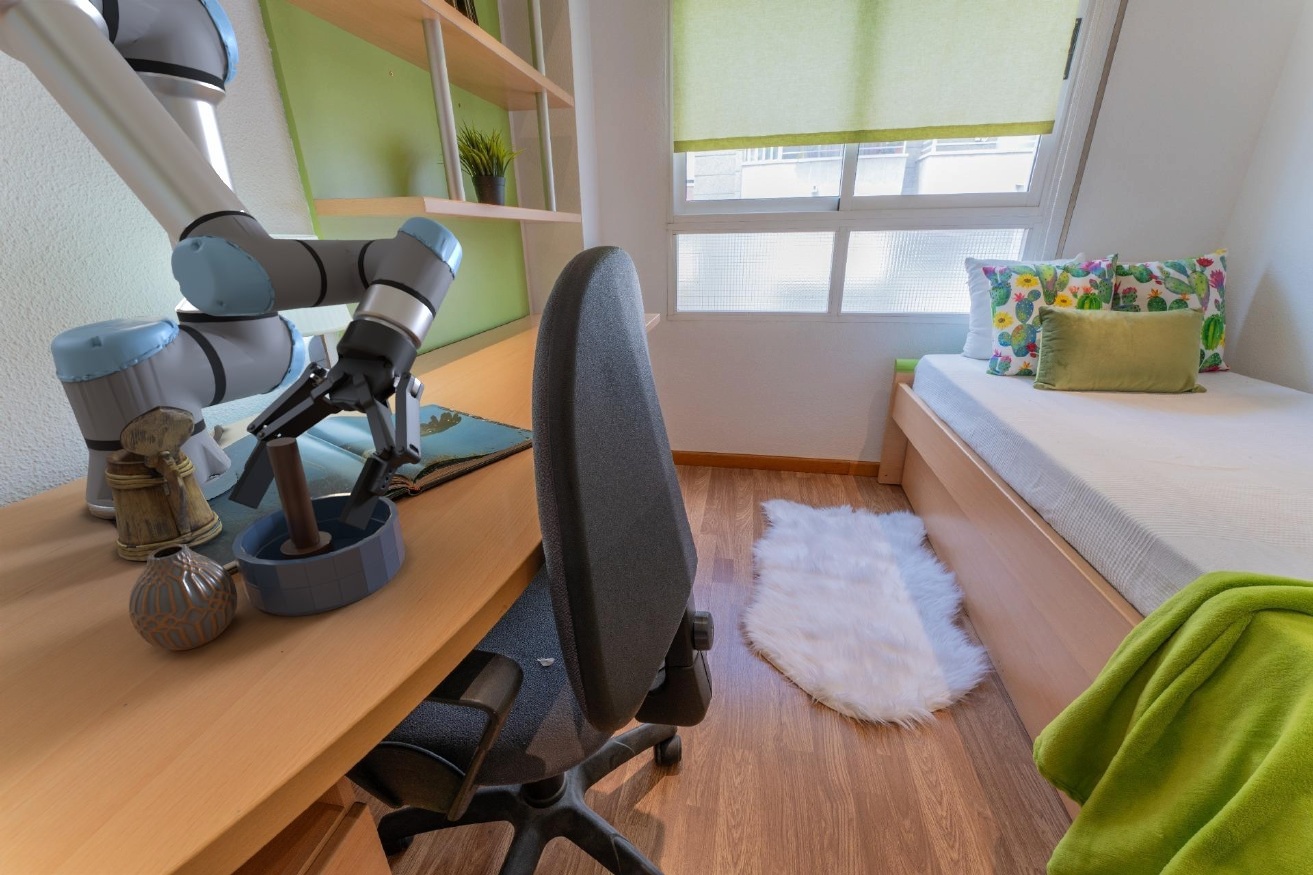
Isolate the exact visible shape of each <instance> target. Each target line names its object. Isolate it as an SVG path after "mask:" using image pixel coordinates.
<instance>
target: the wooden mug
mask: <svg viewBox="0 0 1313 875" xmlns="http://www.w3.org/2000/svg"><path fill="white" fill-rule="evenodd" d="M193 431H194V417H193V414H192V413H191V412H189V411H187V410H184V409H180V408H176V407H171V406H157V407H155V408H153V409H151V410H149V411H147V412H145V413H143V414H142V415H140V416H138V417H136V418H135V419H133V420H132V421H131V422H129V423H128V424H127V425H126V426H125V427H124V429H123V430H122V431H121V434H120V443H121V446H122V447H123V449H121V450H118V451H115V452H113V453H111V454H110V455H109V456H108V457H107V458H106V461H107V466H108V468H107V469H106V471H105V473H106V480H107V483H108V485H110V486H111V489H112V495H113V501H114V508H115V515H116V519H115V521H116V528H117V534H118V538H117V539H116V546H117V554H118V555H119V557H120V558H122V559H123V560H127V561H140V562H144V561H146V562H147V561H148V557H149V555H150V554H151V553H152V552H153V551H155V550H157V549H159V548H161V547H164V546H168V545H172V544H184V545H186V546H187V547H188V548H190V549H191V550H193V549H196V548H199V547H201V546H203V545H205V544H207V543H208V542H211V541H212V540H213V539H214V538H216V537H217V536H218V535H219V534H220V533H221V532H222V529H223V524H222V522H221V521H220V525H219V526H218V527H217V528H216V529H215V530H214V531H213V532H211V531H212V530H213V529H214V528H215V526H216V524H217V522H218V518H219V516H218V514H217V513H216V512H215V511H214V510H212V509H211V507H210V504H209V503H208V501H206V499H205V497H204V495H203V493H202V491H201V489H200V487H199V485H198V484H197V482H196V480H195V477H194V475H193V473H192V472H194V470H195V467H194V465H193V464H192V462H191V461H190V459H189V458H188V456H187V455H184V454H183V452H182V451H181V449H180V447H181V446H182V445H183V444H184V443H185V442H186V441H187V440H188V439H189V438H190V436H191V434H192V432H193ZM210 532H211V533H210ZM209 533H210V534H209ZM206 535H207V536H206Z"/></svg>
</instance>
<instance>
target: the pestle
mask: <svg viewBox="0 0 1313 875" xmlns="http://www.w3.org/2000/svg"><path fill="white" fill-rule="evenodd" d="M266 447H267V451H268V455H269V458H270V462H271V466H272V470H273V474H274V481H275V484H276V489H277V492H278V496H279V501H280V504H281V507H282V508H283V512H284V516H285V520H286V523H287V527H288V531H289V535H290V539H289V540H287V541H286V542H285V543H284V544H283V545H282V546H281V553H282V557H283V561H284V560H295V559H306V558H310V557H315V556H319V555H324V554H328V553H332V552H335V549H334V545H333V540H332V536H331V535H330V534H329V533H327V532H321V531H318V527H317V523H316V519H315V515H314V510H313V506H312V502H311V498H312V497H311V494H310V490H309V485H308V481H307V478H306V473H305V469H304V464H303V461H302V457H301V451H300V448H299V444H298V440H297V438H291V437H286V438H278V439H274V440H271V441H269V442H267V443H266Z"/></svg>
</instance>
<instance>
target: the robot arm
mask: <svg viewBox="0 0 1313 875" xmlns="http://www.w3.org/2000/svg"><path fill="white" fill-rule="evenodd" d="M225 11H226V10H224V8H223V7H222V5H221V4H220V2H219V1H218V0H0V51H1V52H3V53H4V54H6V55H7V56H9V57H10V58H12V59H14V60H16V61H18V62H19V63H23V64H24V65H25V66H26V67H27V68H28V70H29V71H30V72H31V73H32V74H33V75H34V76H35V78H36V80H38V82H39V83H40V84H41V85H42V86H43V87H44V89H45V90H46V91H47V92H48V93H49V95H50V96H51V97H52V98H53V99H54V100H55V102H56V103H57V104H58V105H59V106H60V107H61V109H62V110H63V111H64V112H65V113H66V114H67V116H68V117H69V118H70V119H71V121H72V122H73V123H74V124H75V126H76V127H77V128H78V129H79V130H80V131H81V133H82V134H83V135H84V136H85V138H87V140H88V141H89V142H90V143H91V144H92V146H93V147H94V148H95V149H96V150H97V152H98V153H99V154H100V155H101V156H102V157H103V159H104V160H105V161H106V162H107V163H108V164H109V166H110V167H111V168H112V169H113V170H114V172H115V173H116V174H117V175H118V177H119V178H120V179H122V181H123V183H124V184H125V186H127V187H128V188H129V189H130V190H131V192H132V193H133V194H134V195H135V197H136V198H137V200H139V202H140V203H141V204H142V205H143V206H144V208H146V210H147V211H148V212H149V213H150V214H151V216H152V217H153V218H154V219H155V220H156V222H157V223H158V224H159V225H160V226H161V228H163V230H164V231H165V232H166V233H167V237H168V240H169V243H170V247H171V251H172V252H171V258H170V265H171V266H170V267H171V272H172V275H173V278H174V280H176V281H177V282H178V284H179V291H180V293H181V295H182V296H183V299H182V300H181V301H180V302H179V303H178V304H177V305H176V307H175V312H176V316H177V319H178V324H177V323H176V322H175V320H174V319H173V318H171V317H170V316H167V315H166V316H165V315H140V316H132V317H128V318H125V317H124V318H122V317H121V318H115V319H108V320H101V321H98V322H97V321H96V322H92V323H88V324H84V325H80V326H76V327H73V328H70V329H67V330H65V331H63V332H61V333H59V334H58V335H57V336H55V337H54V338H53V340H51V343H50V352H51V355H52V358H53V362H54V366H55V375H56V378H57V379H58V380H59V381H60V383H61V386H62V388H63V390H64V393H65V396H66V397H67V400H68V403H69V406H70V407H71V410H72V412H73V415H74V418H75V420H76V423H77V425H78V427H79V430H80V432H81V433H80V434H81V436H82V437H83V439H84V442H85V445H86V448H87V450H88V451H87V452H88V466H87V474H86V475H87V476H86V477H87V478H86V487H85V502H86V504H87V506H88V509H89V511H90V513H91V514H92V515H93V516H94V517H96V518H101V519H105V520H116V515H115V508H114V501H113V495H112V489H111V486H110V485H108V483H107V480H106V473H105V471H106V469H107V468H108V466H107V461H106V458H107V457H108V456H109V455H110V454H111V453H113V452H115V451H118V450H121V449H123V447H122V446H121V443H120V434H121V431H122V430H123V429H124V427H125V426H126V425H127V424H128V423H129V422H131V421H132V420H133V419H135V418H136V417H138V416H140V415H142V414H143V413H145V412H147V411H149V410H151V409H153V408H155V407H157V406H171V407H176V408H180V409H184V410H187V411H189V412H191V413H192V414H193V417H194V431H193V432H192V434H191V436H190V438H189V439H188V440H187V441H186V442H185V443H184V444H183V445H182V446H181V447H180V449H181V451H182V452H183V454H184V455H187V456H188V458H189V459H190V461H191V462H192V464H193V465H194V467H195V470H194V472H192V473H193V475H194V477H195V480H196V482H197V484H198V485H199V487H200V489H204V487H206V486H207V485H210V483H213V481H216V480H217V479H219V477H220V476H222V475H223V474H225V472H227V471H228V470H229V468H230V466H231V462H232V460H231V459H230V458H229V457H228V455H227V454H226V453H225V451H224V450H223V449H222V447H221V446H220V445H219V444H218V442H220V441H221V439H222V436H223V433H224V432H225V429H224V427H223V426H222V425H219V424H215V425H214V427H213V431H214V435H213V436H212V435H211V434H210V432H209V430H208V427H207V425H206V421H205V417H204V414H203V411H202V410H203V409H206V408H210V407H214V406H217V405H222V404H226V403H230V402H233V401H237V400H243V399H245V398H250V397H253V396H257V395H268V394H270V393H273V392H275V391H276V390H280V389H283V388H286V387H288V388H287V389H286V390H284V392H282V394H280V395H279V396H278V397H277V398H276V399H275V400H273V402H272V403H270V404H269V406H267V407H266V408H265V409H264V410H263V411H262V412H260V413H259V415H257V416H256V417H255V418H254V419H253V420H252V421H251V422H250V423H249V424H248V425H247V427H246V432H247V433H249V434H251V435H252V436H253V437H255V438H256V440H257V442H256V444H255V446H254V447H253V450H252V451H251V453H250V455H249V457H248V459H247V460H246V461H245V464H244V466H243V472H242V473H241V475H240V477H239V478H238V482H237V483H236V485H235V486H234V487H233V489H232V491H231V493H230V495H229V496H228V498H227V500H228V501H231V502H234V503H236V504H239V505H243V506H245V507H248V508H251V509H256V510H257V509H258V508H259V506H260V504H261V502H262V501H263V498H264V497H265V495H266V493H267V492H268V489H269V487H270V486H271V484H272V482H273V480H274V479H275V477H274V474H273V470H272V466H271V462H270V458H269V455H268V451H267V447H266V443H267V442H269V441H271V440H274V439H278V438H286V437H291V438H296V439H297V438H298V437H300V436H301V435H303V434H304V433H306V432H307V431H309V430H311V429H312V428H313V427H314V426H316V425H317V424H319V423H320V422H322V421H323V420H325V419H326V418H327V417H328V416H331V415H337V414H340V413H341V412H342V411H343V412H349V413H350V412H351V413H352V412H359V413H360V414H365V415H366V418H367V423H368V426H369V429H370V430H369V431H370V434H371V437H372V440H373V444H374V448H375V451H374V452H372V455H373V456H374V457H370V456H368V457H367V458H366V460H365V463H364V465H363V466H362V468H361V471H360V473H359V475H358V477H357V480H356V482H355V484H354V486H353V488H352V490H351V492H350V493H351V494H350V496H349V498H348V501H347V503H346V505H345V507H344V509H343V511H342V513H341V515H340V517H339V520H338V521H339V522H341V523H344V524H346V525H349V526H351V527H354V528H356V529H360V530H365V528H366V526H367V523H368V521H369V519H370V517H371V514H372V512H373V510H374V508H375V505H376V503H377V501H378V499H379V497H380V496H381V497H385V495H386V494H387V492H388V491H389V488H390V486H391V485H392V484H391V483H392V482H393V480H394V477H395V474H396V472H397V471H398V469H399V468H402V466H403V465H408V464H411V465H418V464H419V463H420V462H421V460H422V432H421V431H422V430H421V403H420V402H421V399H422V396H423V393H424V391H425V390H424V389H425V384H423V382H422V381H420V379H418V378H417V377H416V376H415V375H414V374H412V373H411V372H410V371H411V370H412V368H413V365H414V363H415V361H416V359H417V357H418V350H420V349H421V348H422V345H423V343H424V341H425V339H426V337H427V335H428V333H429V332H430V328H431V326H432V324H433V323H434V320H435V318H436V316H437V314H438V312H439V310H440V308H441V306H442V304H443V302H444V300H445V298H446V296H447V294H448V291H449V289H450V288H451V286H452V284H453V281H455V280H456V278H457V272H458V270H459V267H460V264H461V261H462V258H463V248H462V246H461V244H460V242H459V240H458V239H457V238H456V237H455V235H454V234H453V233H452V232H451V231H450V229H448V228H447V227H445V226H444V225H443V224H441V223H439V222H438V221H435V220H433V219H431V218H427V217H422V216H413V217H410V218H408V219H406V220H405V222H404V223H403V224H402V225H401V227H399V228H398V230H397V231H396V232H397V233H396V235H395V236H394V237H393V238H378V239H377V238H376V239H296V238H274V237H272V236H271V235H270V234H269V232H267V231H266V229H265V228H264V227H263V226H262V225H261V223H260V222H259V221H258V220H257V219H256V218H255V217H254V216H253V214H252V213H251V212H250V210H248V208H247V207H246V206H245V205H244V204H243V202H242V201H241V200H240V198H239V197H238V194H237V190H236V185H235V182H234V177H233V173H232V170H231V165H230V162H229V157H228V153H227V148H226V145H225V141H224V136H223V133H222V129H221V128H222V127H221V125H220V120H219V117H218V113H217V109H218V106H219V105H221V103H222V102H223V101H224V100H225V99H226V98H227V91H226V85H229V84H231V82H233V80H235V77H236V75H237V73H238V69H237V66H236V65H237V64H239V61H240V54H239V47H238V46H239V45H238V42H237V38H236V34H235V31H234V29H233V26H232V24H231V21H230V18H229V17H228V15H227V13H226V12H225ZM350 304H358V305H357V306H356V308H355V310H354V311H353V313H352V318H351V319H352V320H351V321H349V323H348V324H347V325H346V327H345V329H344V331H343V333H342V334H341V336H340V338H339V339H338V342H337V344H336V347H335V349H336V353H337V361H336V363H335V364H334V365H333V366H332V367H331V368H330V369H329V368H326V367H323V366H321V365H320V364H319V363H317V362H316V361H311V362H310V363H308V365H307V366H306V367H305V364H306V357H307V354H306V353H307V352H306V346H305V341H304V337H303V335H302V333H301V331H300V330H299V329H297V328H296V325H295V323H294V322H293V321H292V320H291V319H290V318H288V317H287V316H285V315H282V314H280V313H279V312H283V311H284V312H285V311H293V310H299V309H312V308H313V309H314V308H322V307H331V306H340V305H350ZM327 395H328V397H327ZM393 395H395V396H394V400H395V401H394V417H395V418H394V419H395V420H394V422H393V418H392V415H393V411H392V408H391V404H390V400H389V399H390V398H391V397H392V396H393ZM394 423H395V424H394ZM377 458H378V459H377ZM226 470H227V471H226ZM215 475H219V476H218V477H213V478H210V477H211V476H215Z"/></svg>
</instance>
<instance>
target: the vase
mask: <svg viewBox="0 0 1313 875" xmlns="http://www.w3.org/2000/svg"><path fill="white" fill-rule="evenodd" d="M128 600H129V601H128V614H129V618H130V620H131V624H132V625H133V627H134V630H135V631H136V633H137V634H138V635H139V636H140V637H141V638H142V639H143V640H144V641H145V642H146V643H148V644H150V645H151V646H153V647H156V648H158V649H162V650H169V651H187V650H192V649H196V648H198V647H200V646H203V645H206V644H207V643H210V642H212V640H214V639H216V638H217V637H219V636H220V635H221V634H222V633H223V632H225V630H226V629H227V627H228V626H229V625H230V624H231V622H232V620H233V618H234V617H235V615H236V611H237V607H238V590H237V587H236V583H235V582H234V579H233V577H232V575H231V574H230V572H228V570H227V569H226V568H225V567H224V566H223V565H222V564H220V563H219V562H218V561H216V560H214V559H212V558H209V557H208V556H205V555H204V554H203V555H202V554H201V553H197V552H195V551H194V550H193V549H190V548H188V547H187V546H186V545H184V544H172V545H168V546H164V547H161V548H159V549H157V550H155V551H153V552H152V553H151V554H150V555H149V557H148V560H146V564H145V567H144V568H143V570H142V572H141V574H140V575H139V576H138V578H137V580H136V581H135V583H134V584H133V587H132V589H131V590H130V594H129V599H128Z"/></svg>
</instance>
